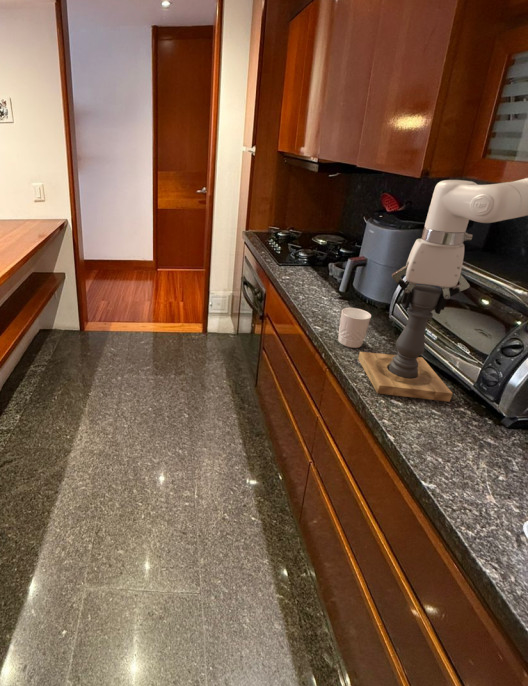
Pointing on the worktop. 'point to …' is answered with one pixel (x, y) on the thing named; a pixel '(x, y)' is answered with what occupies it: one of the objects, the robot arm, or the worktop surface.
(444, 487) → the worktop surface
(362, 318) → the white cup
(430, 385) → the base pad
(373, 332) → the worktop surface
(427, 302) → the candle holder
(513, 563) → the worktop surface
